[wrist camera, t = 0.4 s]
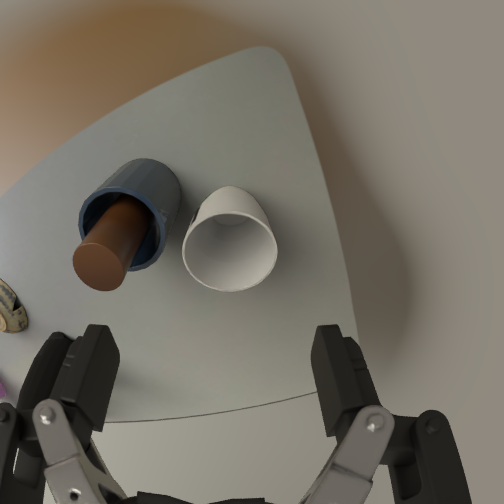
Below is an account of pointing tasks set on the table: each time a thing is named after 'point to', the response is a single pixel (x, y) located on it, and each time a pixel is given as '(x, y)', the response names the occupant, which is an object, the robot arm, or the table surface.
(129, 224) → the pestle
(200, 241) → the cup
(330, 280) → the table surface
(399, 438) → the robot arm
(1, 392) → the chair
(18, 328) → the decorative bowl
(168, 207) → the crock
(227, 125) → the table surface
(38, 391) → the portable speaker
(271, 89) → the table surface
